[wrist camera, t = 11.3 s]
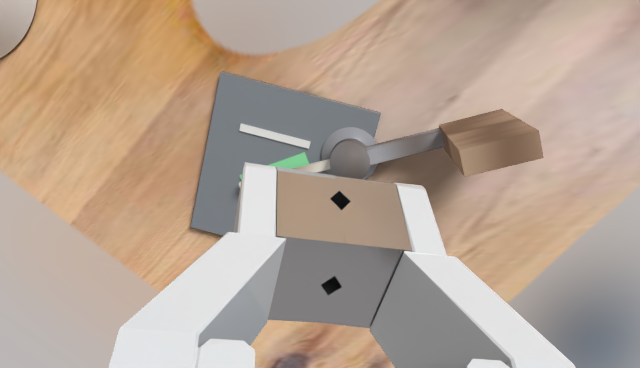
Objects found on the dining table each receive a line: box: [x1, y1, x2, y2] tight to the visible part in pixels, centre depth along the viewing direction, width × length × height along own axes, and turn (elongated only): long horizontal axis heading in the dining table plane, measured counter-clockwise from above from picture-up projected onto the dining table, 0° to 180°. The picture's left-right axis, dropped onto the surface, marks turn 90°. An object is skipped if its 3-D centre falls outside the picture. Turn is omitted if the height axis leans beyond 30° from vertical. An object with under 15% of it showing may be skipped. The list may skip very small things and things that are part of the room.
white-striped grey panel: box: [191, 72, 381, 236], centre depth 47 cm, size 14×14×1 cm
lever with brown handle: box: [239, 109, 543, 186], centre depth 40 cm, size 22×3×10 cm, turn 105°
